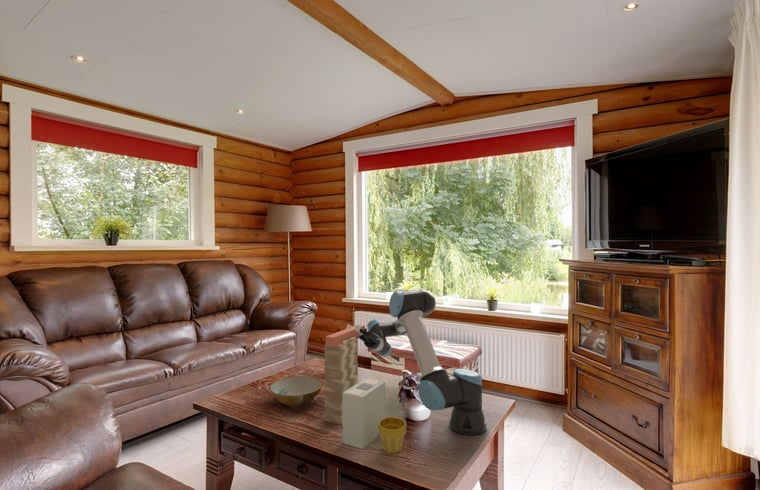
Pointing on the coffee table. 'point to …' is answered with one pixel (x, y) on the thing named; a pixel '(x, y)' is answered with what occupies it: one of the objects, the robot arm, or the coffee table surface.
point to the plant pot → (392, 433)
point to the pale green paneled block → (363, 412)
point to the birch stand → (339, 377)
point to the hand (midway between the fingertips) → (351, 327)
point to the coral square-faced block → (342, 336)
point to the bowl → (296, 390)
